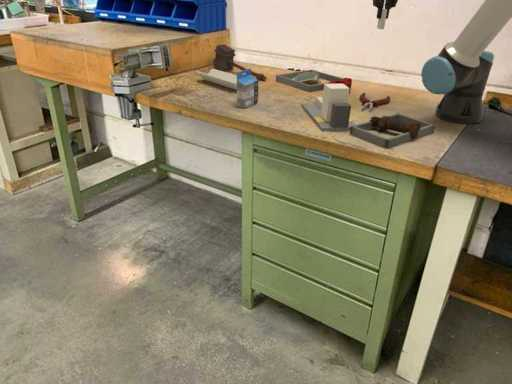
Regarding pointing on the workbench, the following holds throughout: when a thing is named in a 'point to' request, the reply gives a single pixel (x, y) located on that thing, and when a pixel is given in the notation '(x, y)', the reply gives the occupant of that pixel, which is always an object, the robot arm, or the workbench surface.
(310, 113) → the rail board
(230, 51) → the hammer
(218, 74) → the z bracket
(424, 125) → the bolt parts frame
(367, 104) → the pliers
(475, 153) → the workbench surface
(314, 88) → the bracket parts frame
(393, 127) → the bolt
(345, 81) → the mechanical linkage
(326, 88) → the cream upright block
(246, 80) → the label tape box
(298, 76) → the metal bracket
